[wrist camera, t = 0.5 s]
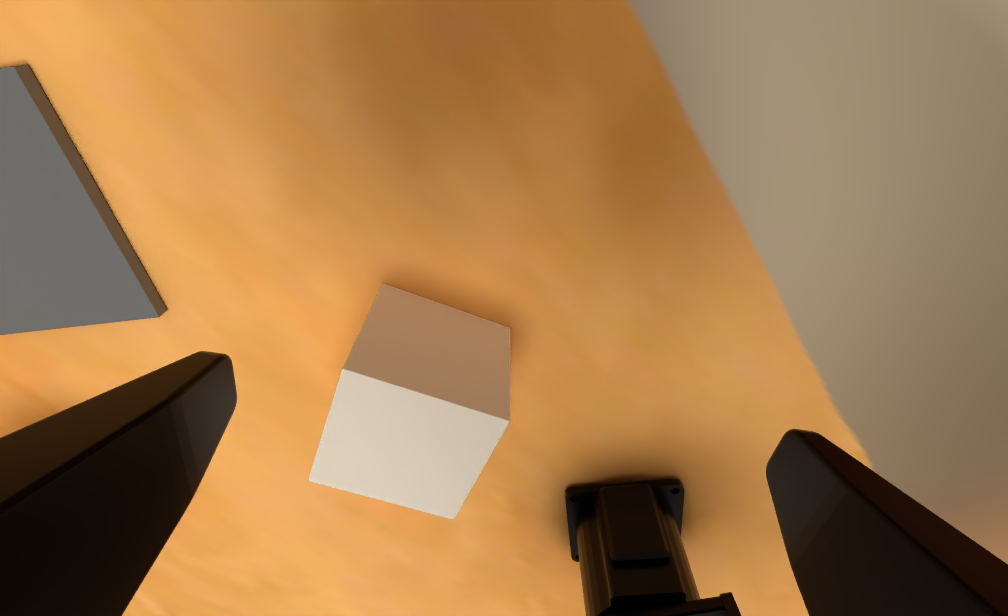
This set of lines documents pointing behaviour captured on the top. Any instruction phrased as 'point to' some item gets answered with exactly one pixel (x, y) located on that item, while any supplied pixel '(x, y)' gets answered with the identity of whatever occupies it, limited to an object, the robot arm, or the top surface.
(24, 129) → the coaster
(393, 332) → the cube
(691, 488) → the top surface
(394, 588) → the top surface
